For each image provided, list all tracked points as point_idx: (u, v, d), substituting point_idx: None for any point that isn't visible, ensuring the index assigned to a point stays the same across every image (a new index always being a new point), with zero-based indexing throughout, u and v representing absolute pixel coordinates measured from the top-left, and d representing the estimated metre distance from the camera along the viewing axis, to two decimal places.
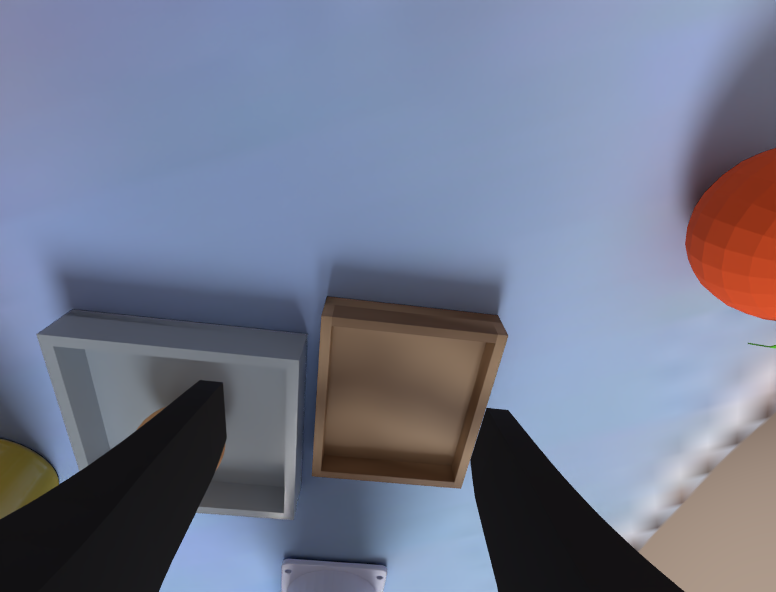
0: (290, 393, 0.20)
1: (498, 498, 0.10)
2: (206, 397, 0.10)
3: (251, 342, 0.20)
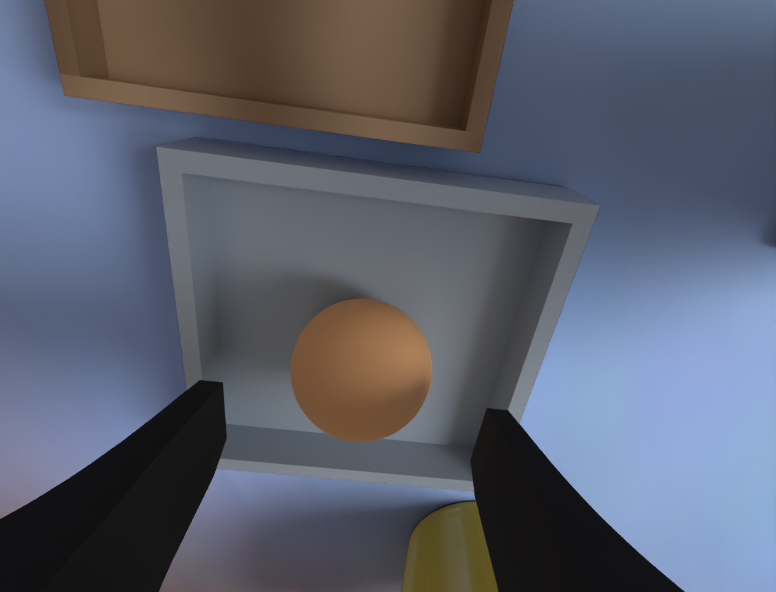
0: (238, 172, 0.11)
1: (498, 498, 0.10)
2: (206, 397, 0.10)
3: None
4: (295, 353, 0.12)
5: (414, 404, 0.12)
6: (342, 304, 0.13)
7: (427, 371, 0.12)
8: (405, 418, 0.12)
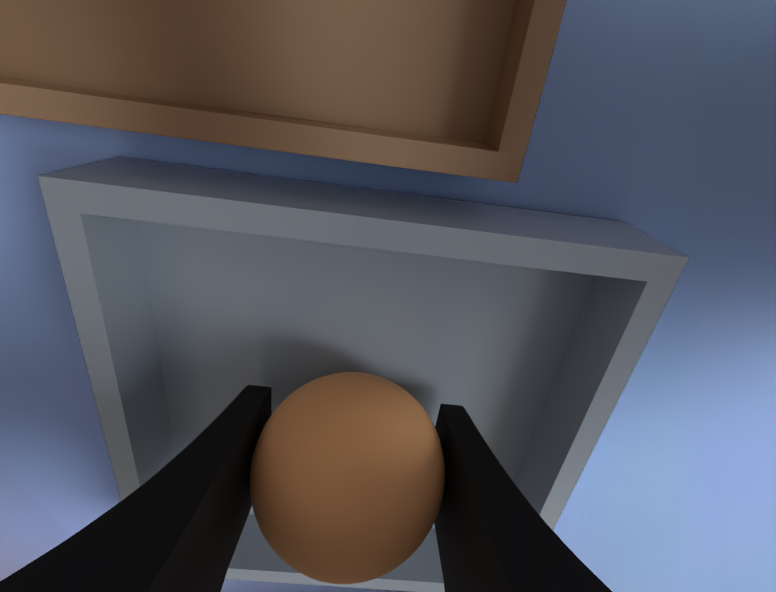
0: (163, 211, 0.07)
1: (447, 493, 0.09)
2: (259, 402, 0.10)
3: None
4: (255, 459, 0.09)
5: (422, 535, 0.08)
6: (321, 387, 0.09)
7: (439, 483, 0.09)
8: (409, 554, 0.08)
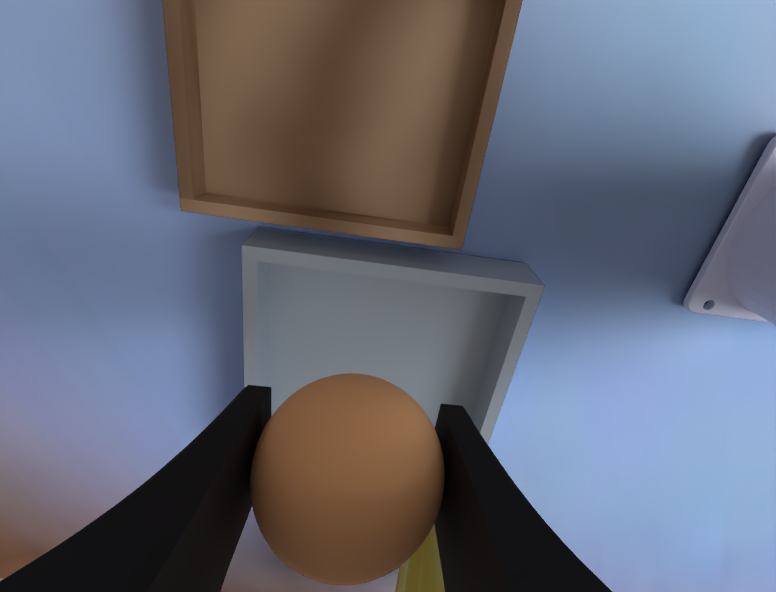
0: (296, 261, 0.16)
1: (447, 494, 0.09)
2: (259, 402, 0.10)
3: None
4: (255, 460, 0.09)
5: (421, 536, 0.08)
6: (321, 389, 0.09)
7: (439, 485, 0.09)
8: (409, 555, 0.09)
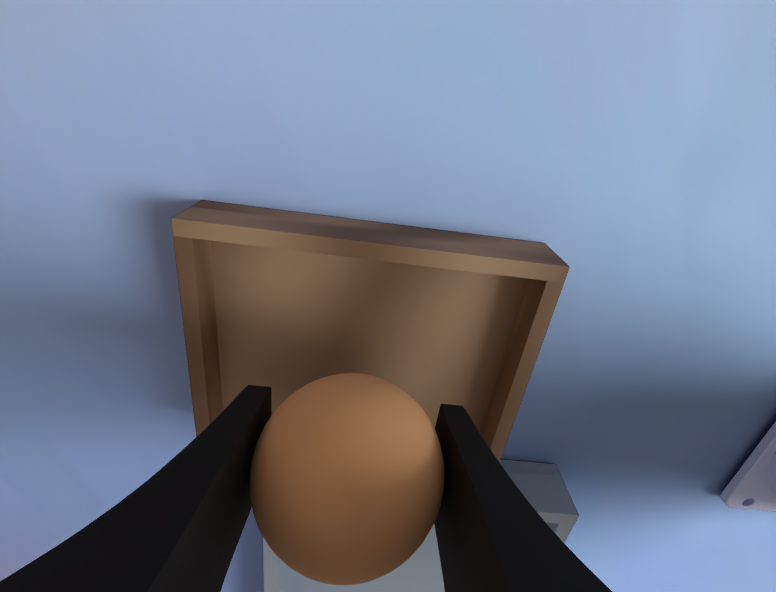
0: None
1: (447, 494, 0.09)
2: (259, 402, 0.10)
3: None
4: (254, 460, 0.09)
5: (421, 536, 0.08)
6: (320, 389, 0.09)
7: (439, 484, 0.09)
8: (409, 555, 0.08)
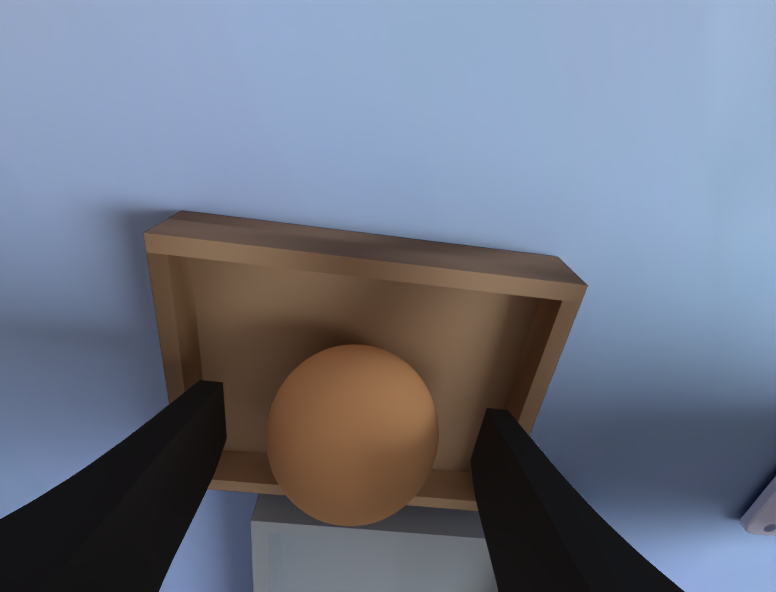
0: (312, 531, 0.14)
1: (498, 498, 0.10)
2: (206, 397, 0.10)
3: None
4: (271, 418, 0.10)
5: (418, 482, 0.10)
6: (328, 355, 0.10)
7: (434, 438, 0.10)
8: (407, 499, 0.10)
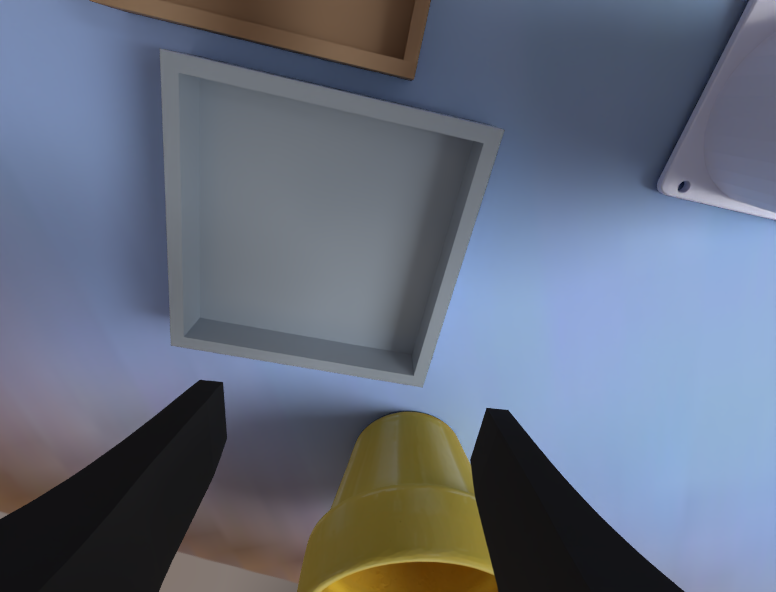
0: (223, 76, 0.14)
1: (499, 498, 0.10)
2: (206, 397, 0.10)
3: None
4: None
5: None
6: None
7: None
8: None
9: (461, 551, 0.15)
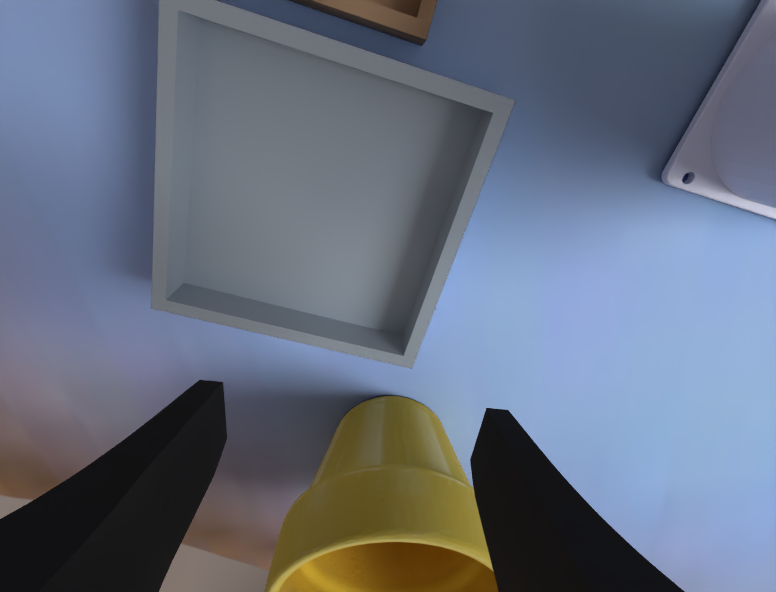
0: (226, 18, 0.13)
1: (499, 498, 0.10)
2: (206, 397, 0.10)
3: None
4: None
5: None
6: None
7: None
8: None
9: (444, 533, 0.14)
